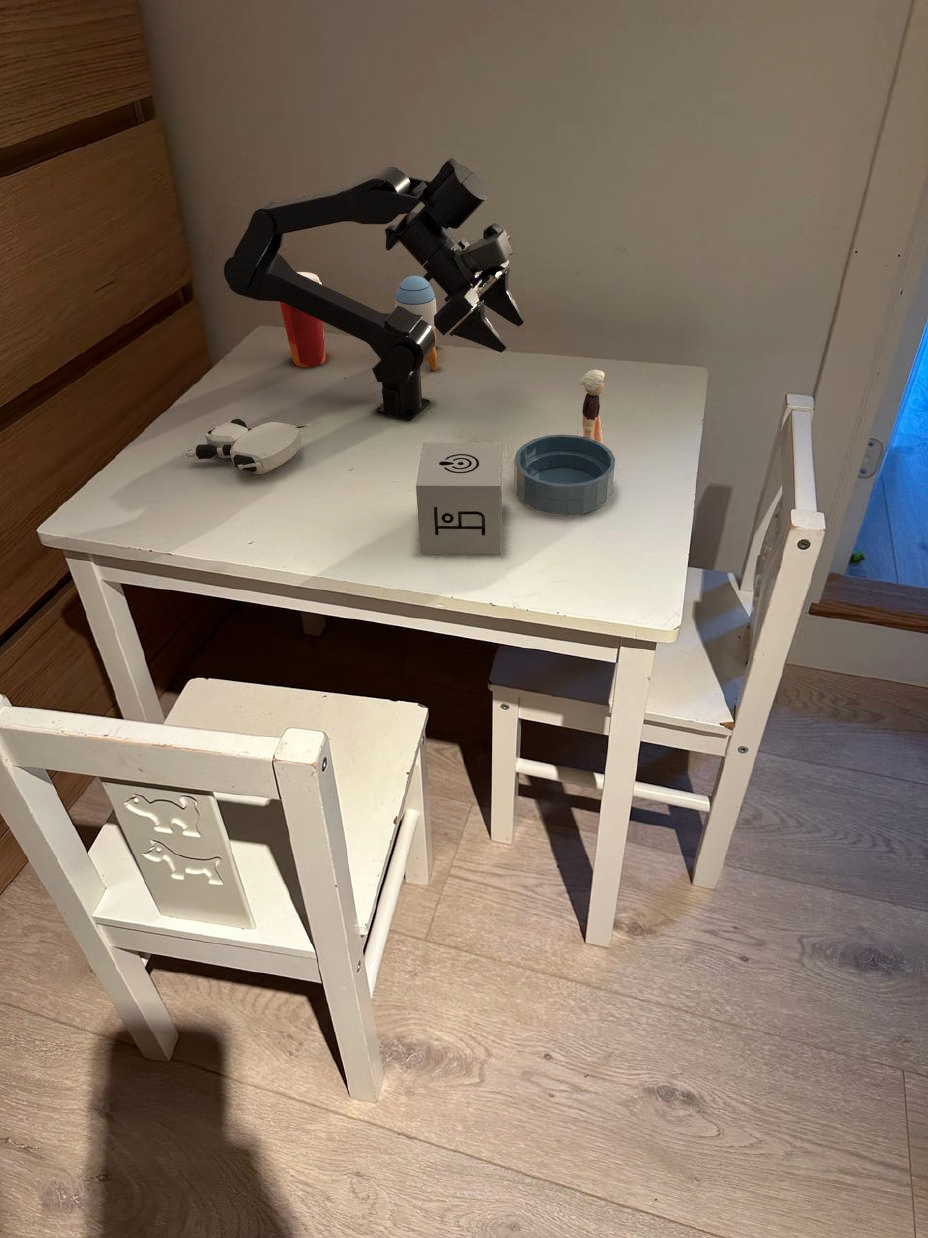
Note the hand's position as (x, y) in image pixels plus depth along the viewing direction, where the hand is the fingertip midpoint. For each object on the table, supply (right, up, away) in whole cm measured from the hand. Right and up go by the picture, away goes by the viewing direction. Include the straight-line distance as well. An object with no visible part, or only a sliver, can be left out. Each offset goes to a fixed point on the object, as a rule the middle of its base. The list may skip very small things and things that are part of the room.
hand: (513, 336), depth 127 cm
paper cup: (-34, +5, +28) cm, 44 cm away
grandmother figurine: (+11, -16, +2) cm, 20 cm away
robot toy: (-38, -17, +3) cm, 42 cm away
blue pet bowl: (+6, -23, -6) cm, 25 cm away
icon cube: (-7, -29, -12) cm, 32 cm away
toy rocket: (-16, +5, +27) cm, 32 cm away
